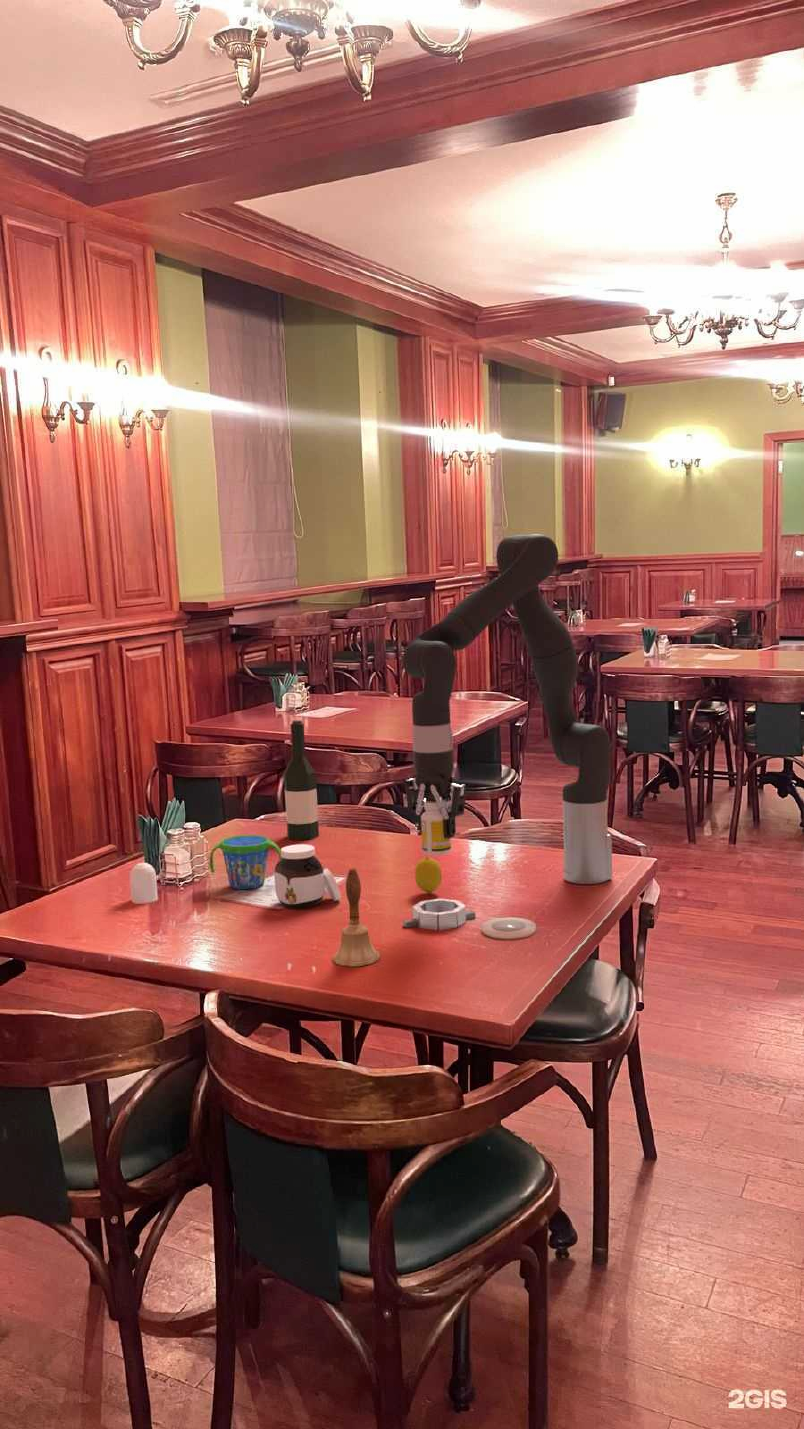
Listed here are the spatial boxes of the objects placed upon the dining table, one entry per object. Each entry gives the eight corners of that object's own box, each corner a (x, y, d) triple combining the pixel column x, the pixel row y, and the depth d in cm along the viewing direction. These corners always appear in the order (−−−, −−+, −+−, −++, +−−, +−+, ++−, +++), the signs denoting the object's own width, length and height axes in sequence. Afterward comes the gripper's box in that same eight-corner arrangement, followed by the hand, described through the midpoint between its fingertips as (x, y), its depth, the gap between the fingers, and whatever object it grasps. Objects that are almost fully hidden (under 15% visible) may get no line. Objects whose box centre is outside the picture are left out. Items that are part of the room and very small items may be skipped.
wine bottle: (283, 840, 281) (276, 723, 278) (291, 832, 290) (285, 718, 286) (315, 840, 280) (308, 722, 276) (322, 832, 288) (316, 718, 284)
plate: (522, 918, 211) (522, 914, 211) (544, 934, 202) (544, 929, 202) (473, 925, 208) (473, 921, 208) (493, 942, 199) (493, 937, 199)
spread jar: (270, 904, 228) (267, 848, 226) (311, 891, 236) (308, 837, 234) (309, 914, 219) (306, 857, 218) (350, 900, 228) (348, 845, 226)
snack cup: (287, 878, 246) (284, 833, 245) (278, 892, 236) (275, 845, 235) (217, 879, 248) (214, 835, 246) (206, 893, 237) (203, 847, 236)
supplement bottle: (456, 850, 210) (454, 799, 209) (441, 856, 206) (439, 805, 205) (432, 847, 213) (430, 797, 212) (416, 853, 209) (414, 802, 208)
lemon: (440, 898, 227) (438, 860, 226) (413, 897, 228) (411, 859, 227) (444, 890, 232) (443, 853, 231) (418, 890, 233) (416, 852, 232)
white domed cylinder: (151, 904, 231) (148, 866, 230) (127, 903, 232) (124, 866, 231) (161, 896, 236) (159, 859, 235) (138, 895, 238) (135, 859, 236)
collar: (465, 910, 218) (464, 895, 218) (483, 923, 209) (482, 908, 209) (397, 919, 214) (396, 904, 214) (412, 934, 205) (411, 918, 205)
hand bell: (332, 952, 197) (327, 865, 195) (378, 949, 198) (374, 862, 196) (333, 968, 189) (328, 877, 187) (381, 965, 190) (377, 874, 188)
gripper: (475, 747, 205) (479, 836, 207) (417, 741, 215) (421, 826, 217) (449, 753, 200) (453, 845, 202) (391, 747, 209) (395, 835, 212)
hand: (437, 835), depth 210 cm, fingers closed on supplement bottle, 5 cm apart
